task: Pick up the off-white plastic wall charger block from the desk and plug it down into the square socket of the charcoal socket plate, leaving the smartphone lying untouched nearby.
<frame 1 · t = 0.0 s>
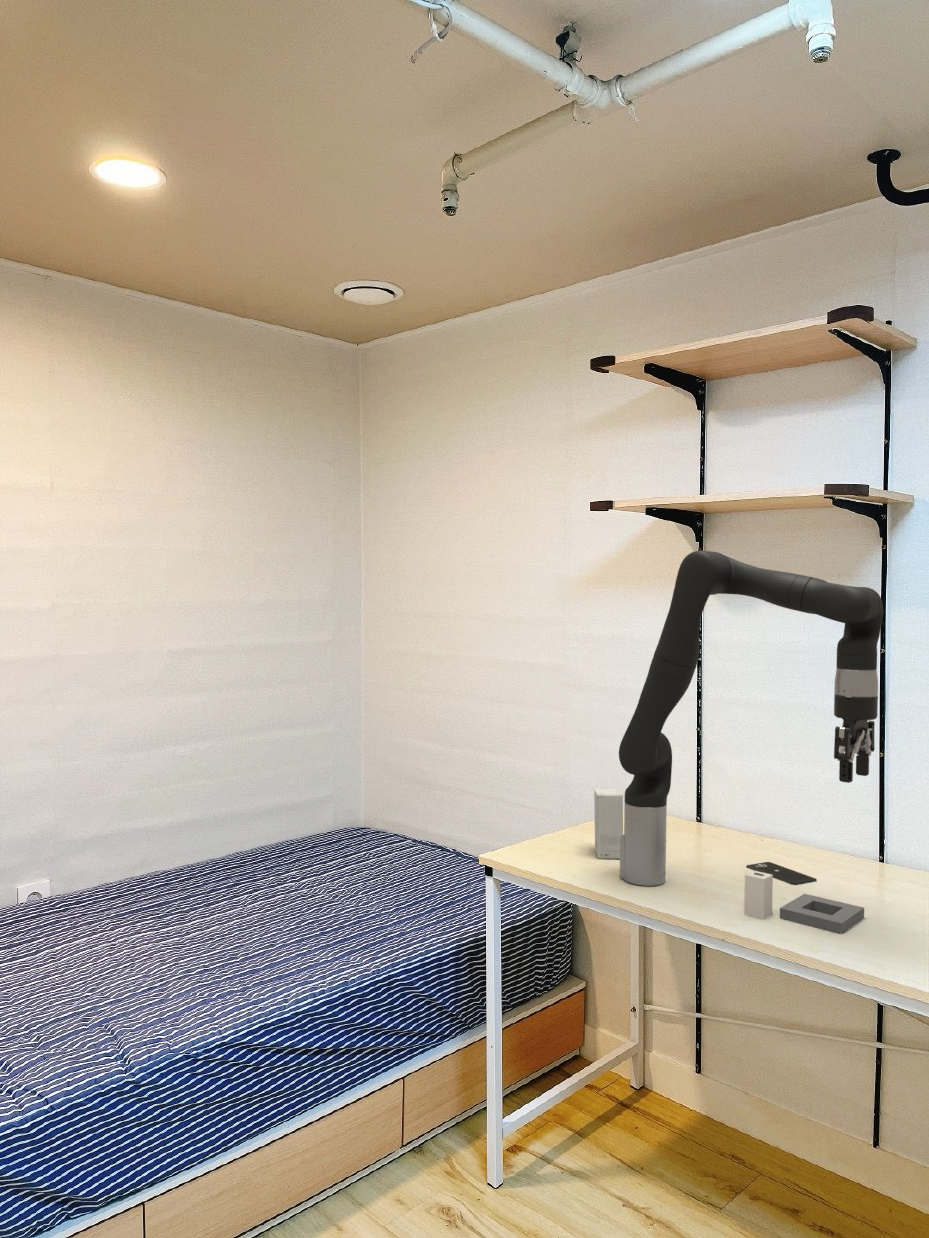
hand: (854, 778, 171), 29 cm above the table, tool pointing down, fingers open, 8 cm apart
socket plate: (821, 917, 179), on the table
smartphone: (780, 876, 208), on the table
charger: (758, 914, 181), on the table
skincare box: (607, 855, 222), on the table
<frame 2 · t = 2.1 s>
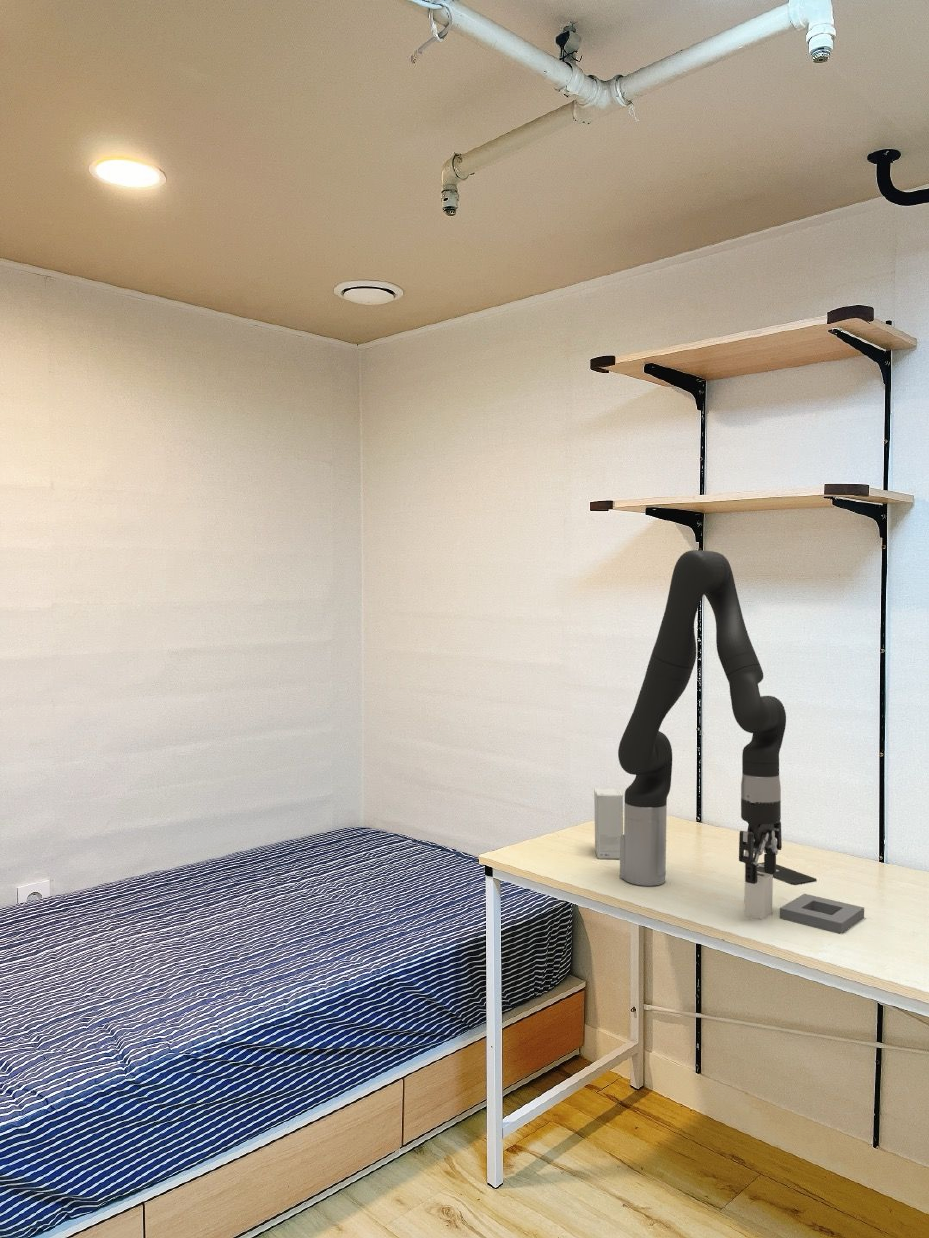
hand: (760, 877, 180), 7 cm above the table, tool pointing down, fingers open, 8 cm apart
nothing on the table moved.
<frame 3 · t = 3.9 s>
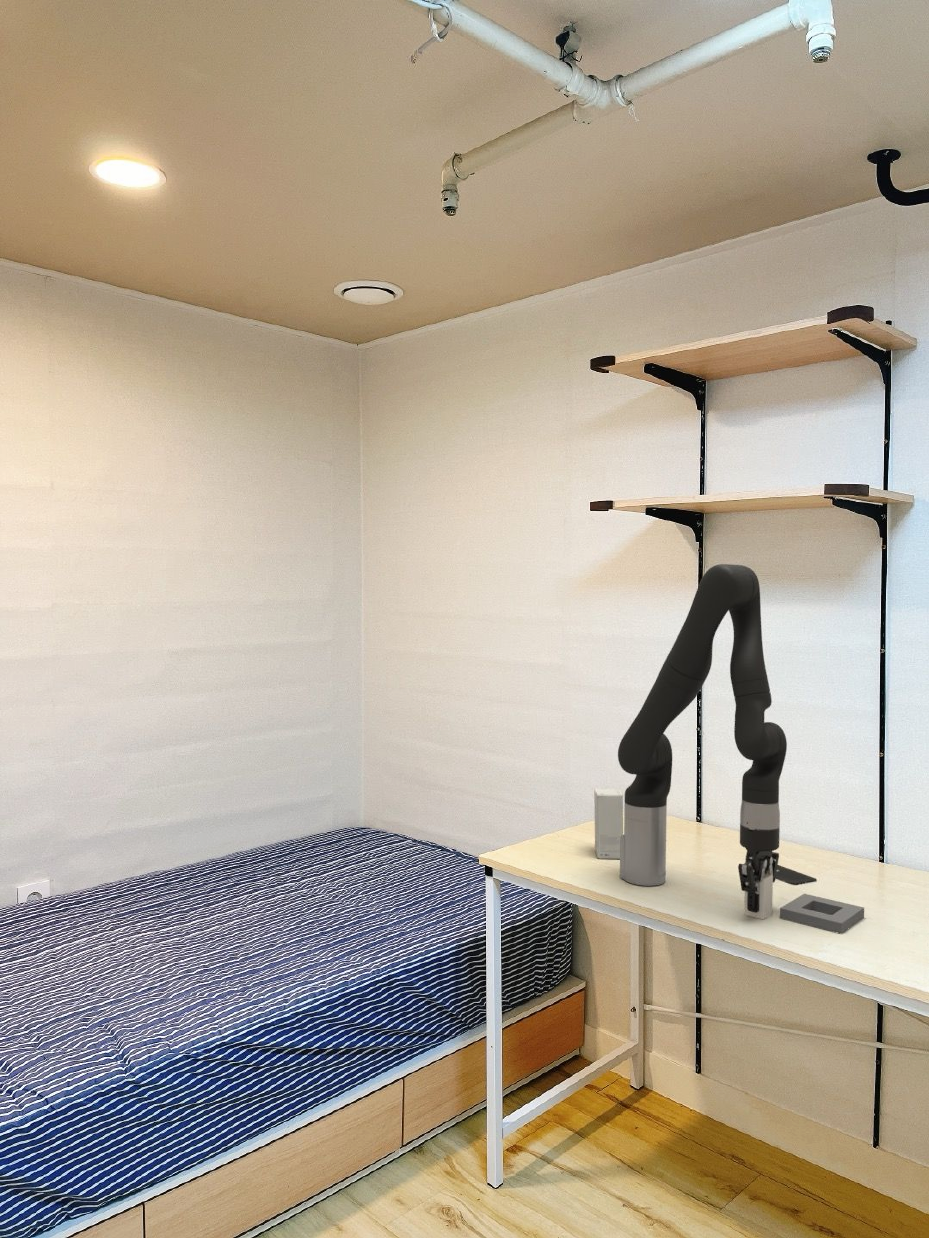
hand: (758, 907, 181), 1 cm above the table, tool pointing down, fingers closed on charger, 4 cm apart
charger: (758, 914, 181), on the table, touching gripper
everything else where it was.
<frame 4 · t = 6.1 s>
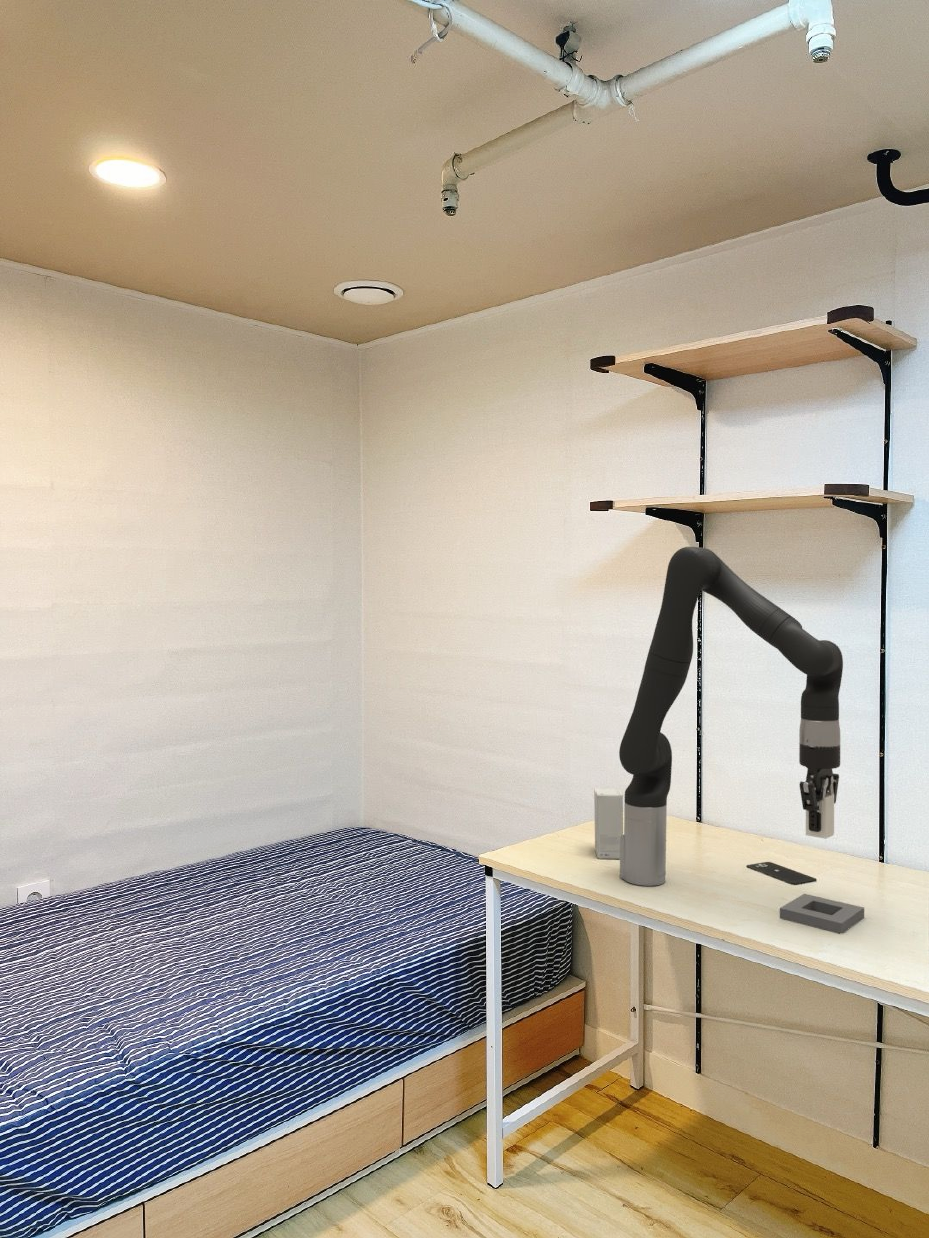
hand: (819, 828, 178), 18 cm above the table, tool pointing down, fingers closed on charger, 4 cm apart
charger: (819, 834, 178), point 17 cm above the table, touching gripper
everything else where it was.
when the fingers open (4 cm above the table, at t = 8.4 s): charger drops 3 cm, resting in socket plate.
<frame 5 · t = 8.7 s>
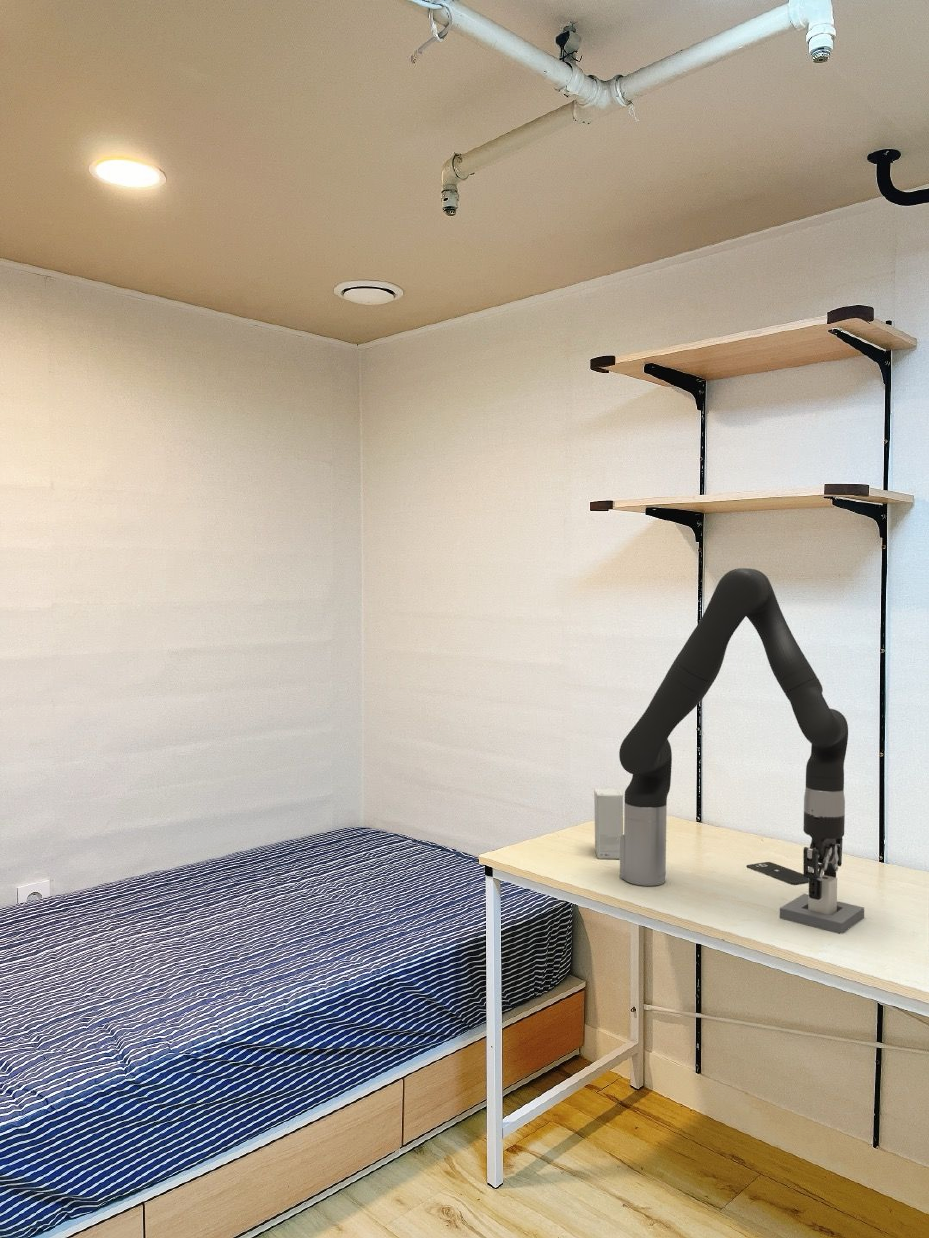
hand: (822, 893, 179), 5 cm above the table, tool pointing down, fingers open, 7 cm apart
charger: (822, 917, 179), resting in socket plate
everything else where it was.
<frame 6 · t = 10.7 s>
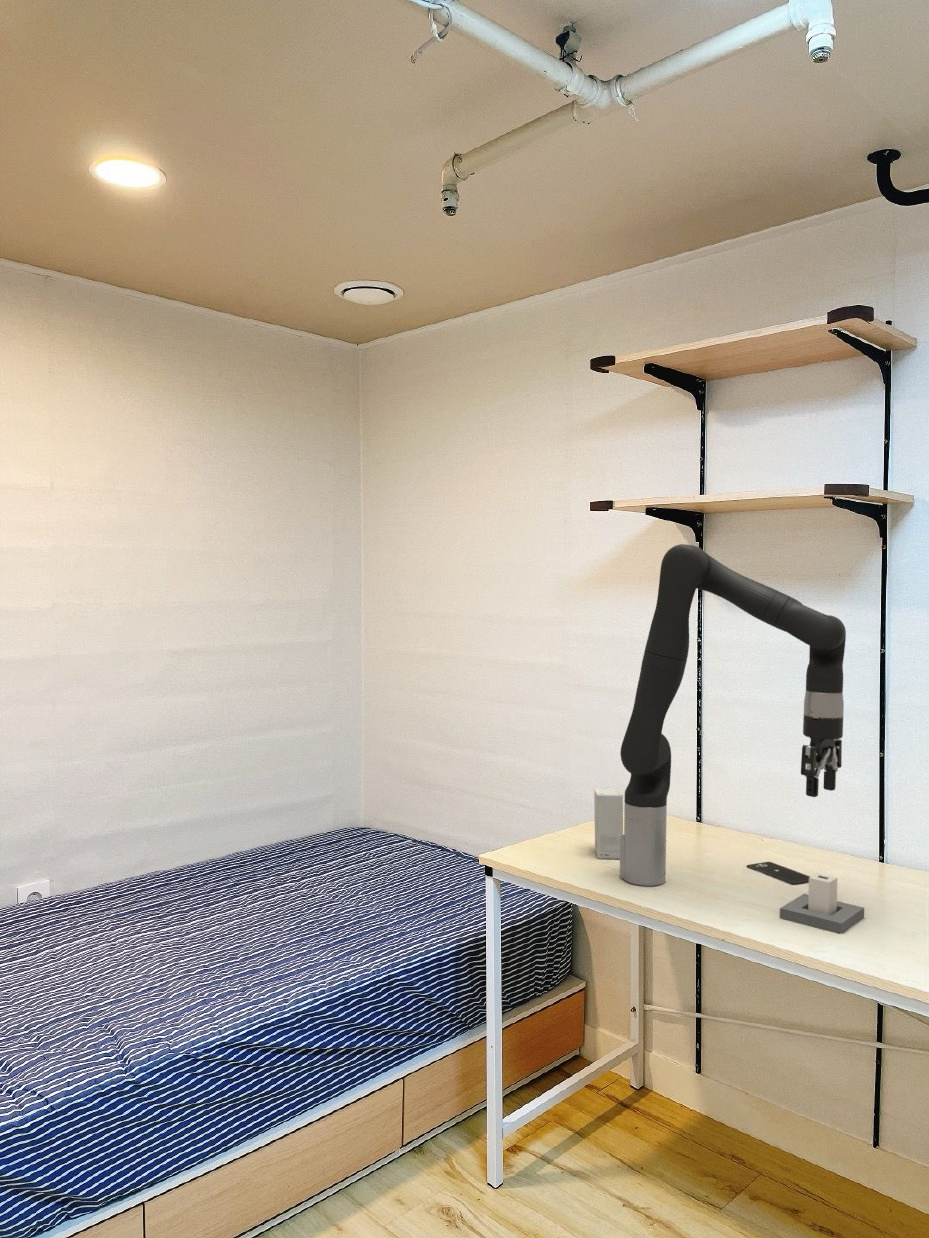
hand: (820, 792, 184), 24 cm above the table, tool pointing down, fingers open, 8 cm apart
nothing on the table moved.
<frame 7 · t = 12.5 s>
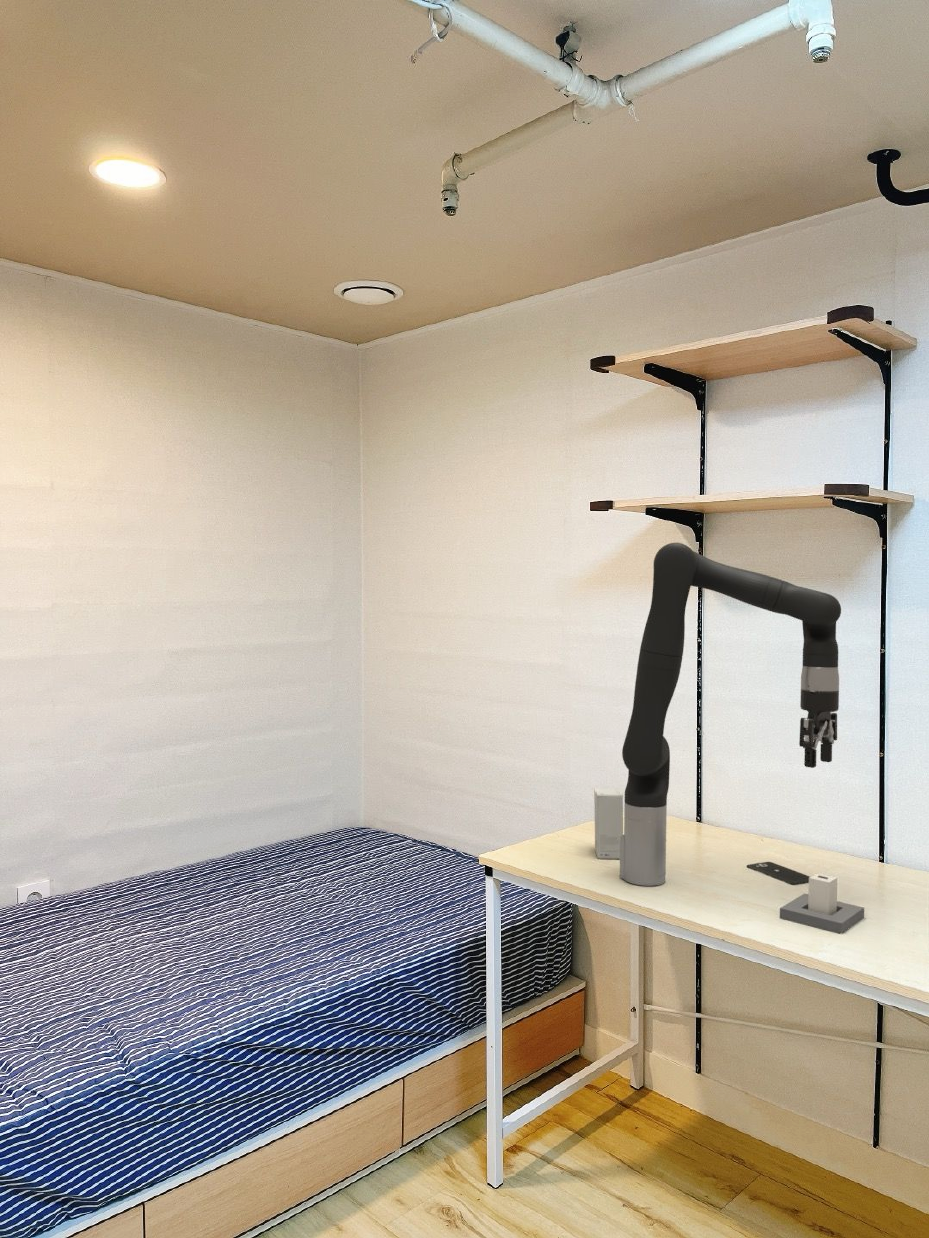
hand: (818, 764, 191), 28 cm above the table, tool pointing down, fingers open, 8 cm apart
nothing on the table moved.
at the end: charger 0.1 cm off-centre on the socket plate, point 0.0 cm above the socket plate's base; charger tilted 0°; the gripper is holding nothing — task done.
